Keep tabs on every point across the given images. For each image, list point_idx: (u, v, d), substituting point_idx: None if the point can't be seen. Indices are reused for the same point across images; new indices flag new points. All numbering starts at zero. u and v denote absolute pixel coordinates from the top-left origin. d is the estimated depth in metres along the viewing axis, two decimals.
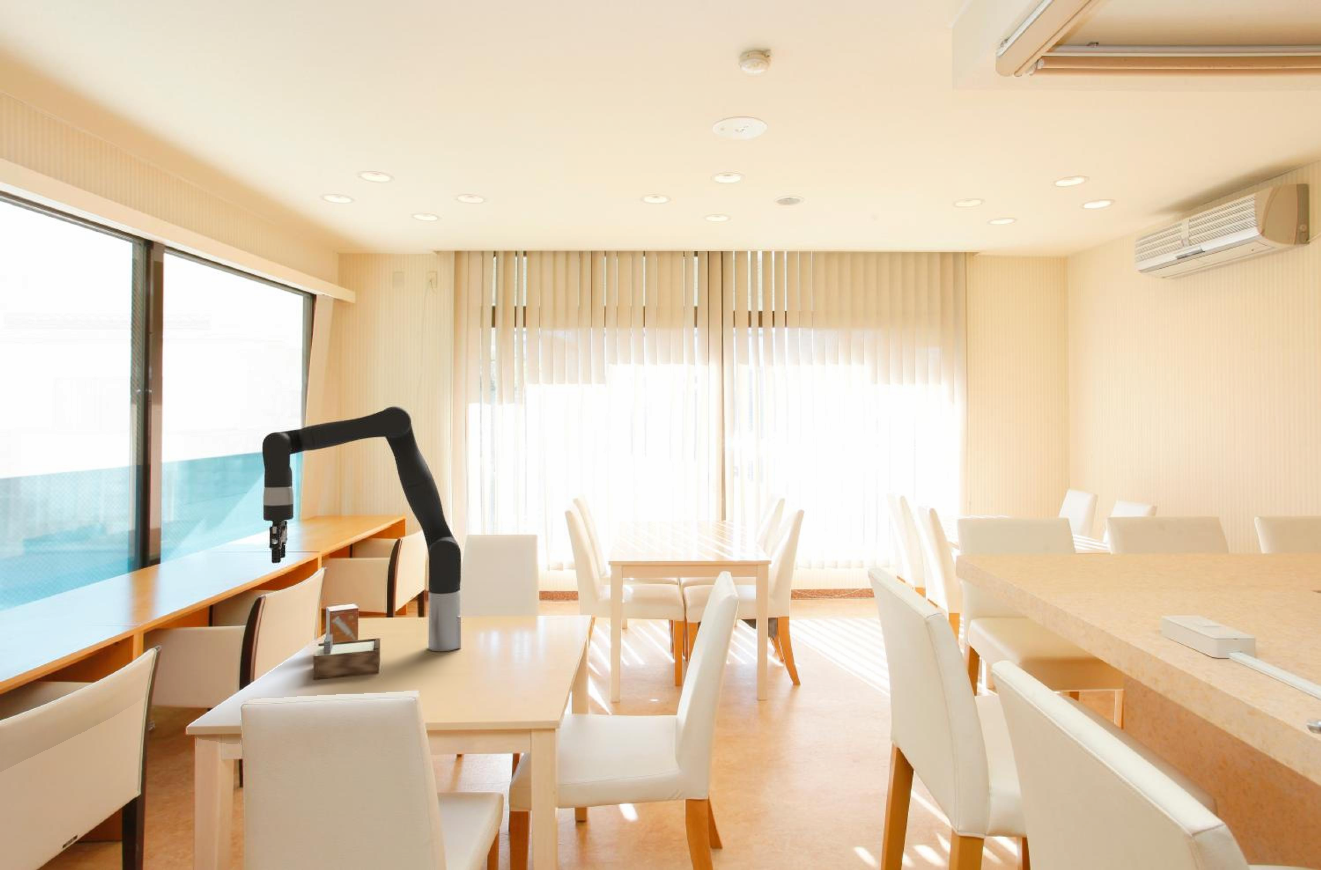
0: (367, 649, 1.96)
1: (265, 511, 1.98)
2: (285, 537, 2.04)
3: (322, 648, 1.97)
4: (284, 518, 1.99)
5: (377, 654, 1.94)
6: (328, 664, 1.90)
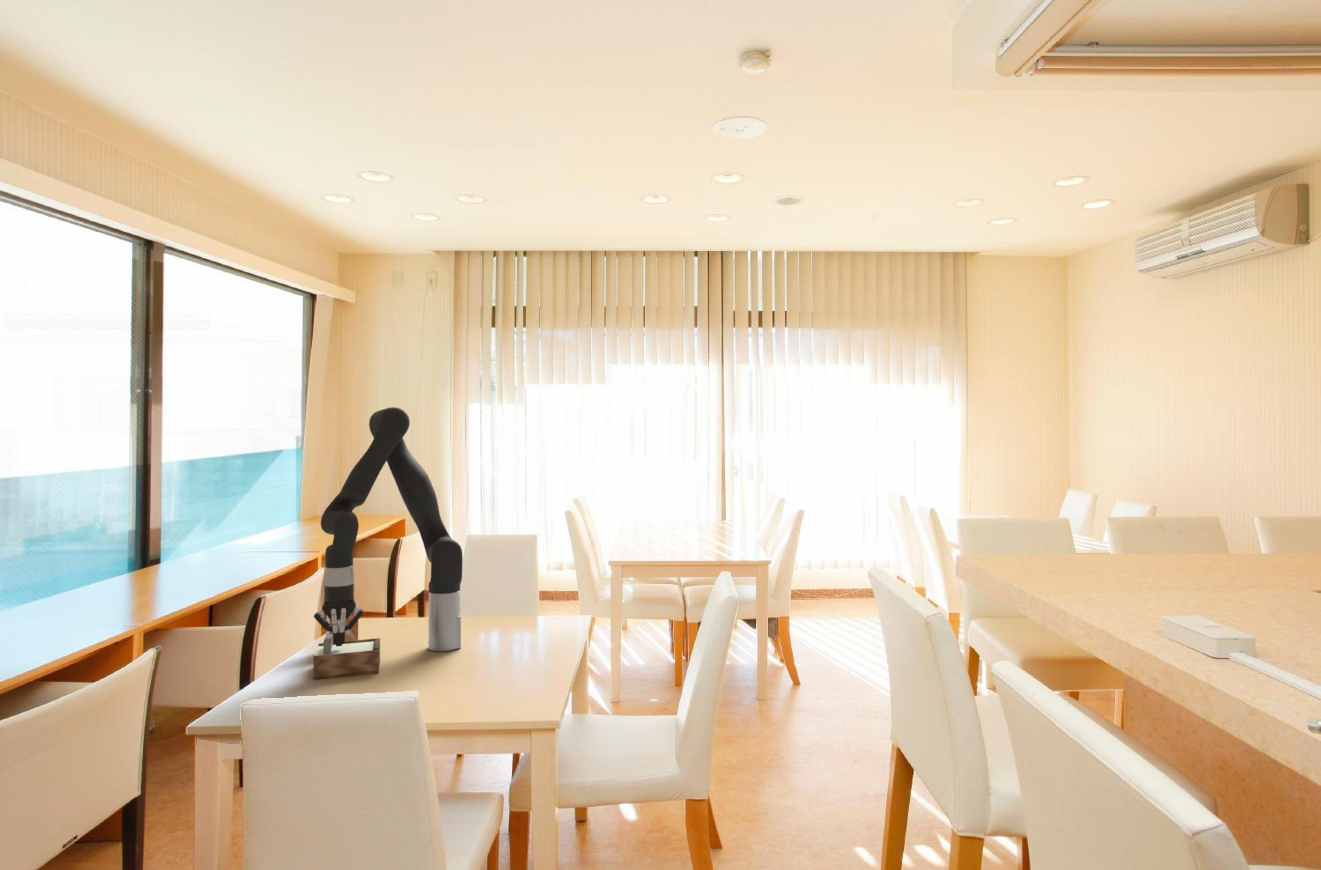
0: (367, 649, 1.96)
1: (347, 591, 1.94)
2: None
3: (322, 648, 1.97)
4: None
5: (377, 654, 1.94)
6: (328, 664, 1.90)
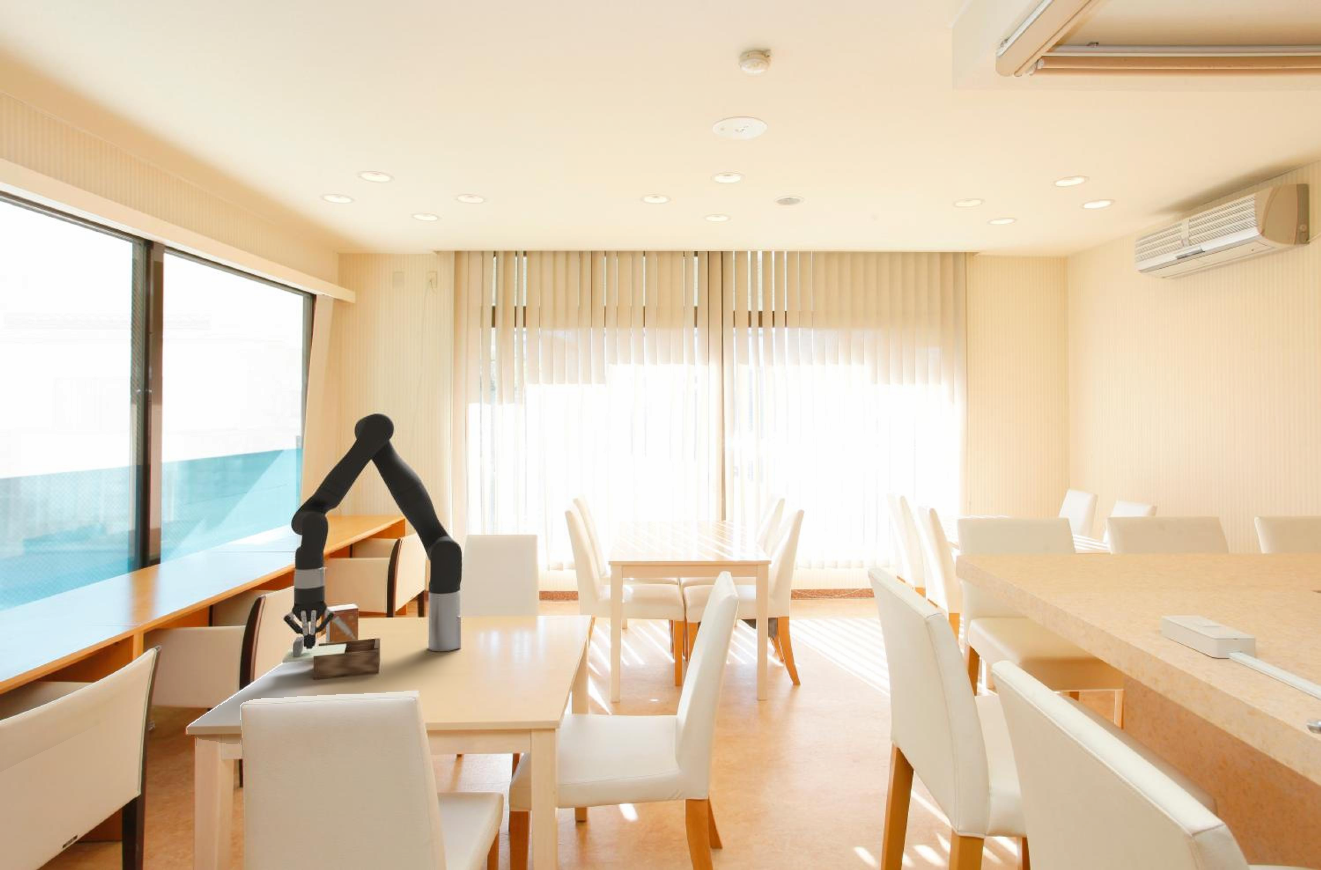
0: (338, 652, 1.94)
1: (317, 593, 1.91)
2: (308, 621, 1.95)
3: (292, 651, 1.94)
4: None
5: (377, 654, 1.94)
6: (328, 664, 1.90)
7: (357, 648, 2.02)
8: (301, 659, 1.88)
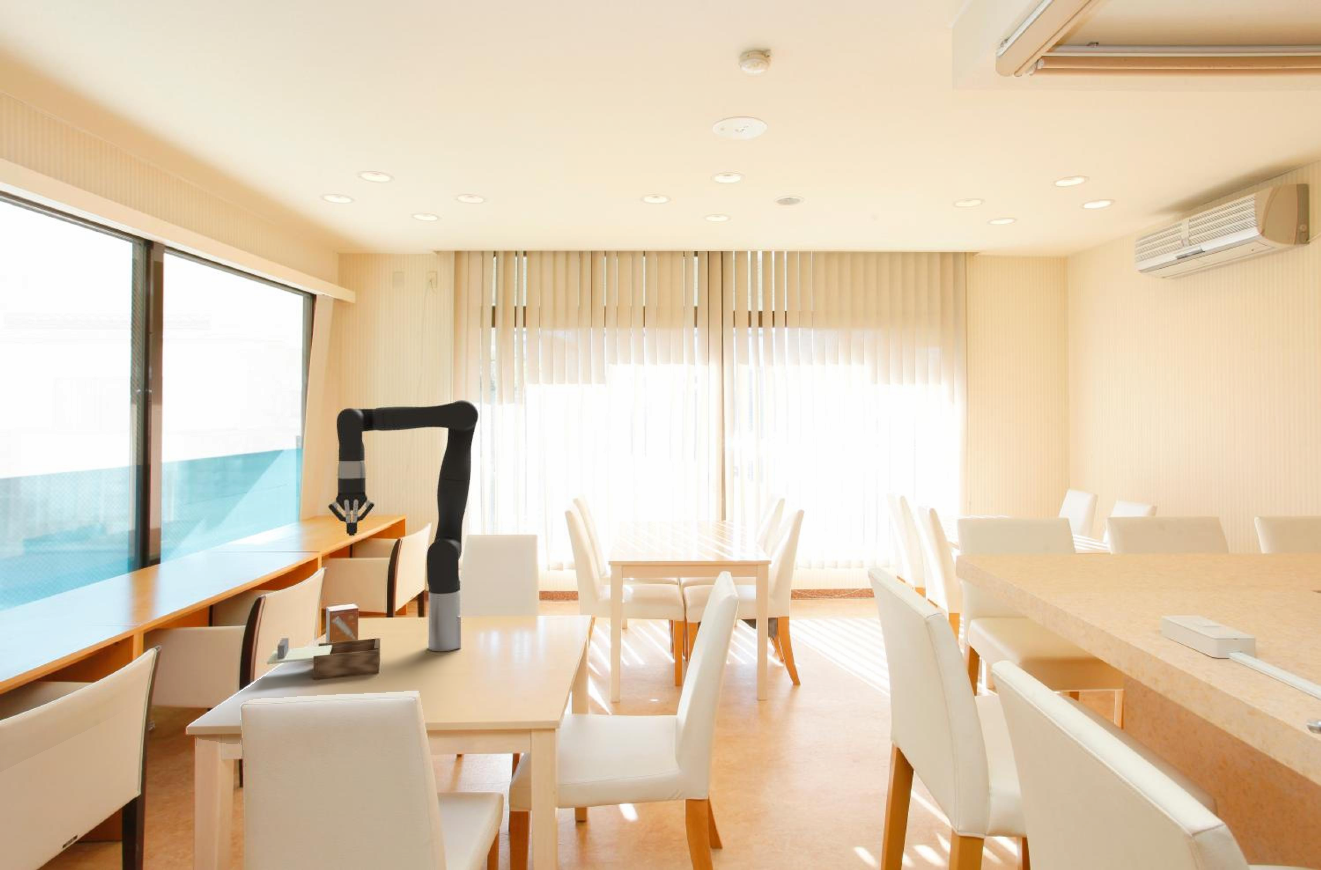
0: (323, 653, 1.93)
1: (359, 484, 2.08)
2: (350, 511, 2.11)
3: (277, 652, 1.93)
4: None
5: (377, 654, 1.94)
6: (328, 664, 1.90)
7: (357, 648, 2.02)
8: (286, 660, 1.87)
